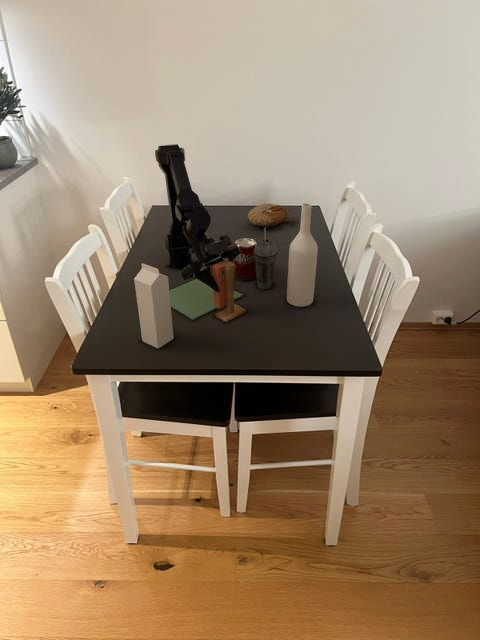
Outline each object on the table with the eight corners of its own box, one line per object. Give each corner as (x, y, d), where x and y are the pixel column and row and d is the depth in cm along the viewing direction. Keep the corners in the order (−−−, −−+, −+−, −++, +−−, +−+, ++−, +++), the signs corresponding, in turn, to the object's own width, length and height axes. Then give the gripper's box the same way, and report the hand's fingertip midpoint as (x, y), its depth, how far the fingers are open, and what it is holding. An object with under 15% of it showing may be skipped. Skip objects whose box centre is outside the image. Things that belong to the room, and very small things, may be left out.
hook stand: (209, 312, 145) (207, 263, 137) (229, 302, 150) (228, 254, 141) (225, 322, 141) (224, 272, 132) (246, 311, 146) (246, 262, 137)
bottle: (295, 309, 147) (302, 211, 130) (281, 297, 153) (286, 202, 137) (318, 303, 150) (327, 206, 134) (303, 291, 156) (310, 198, 140)
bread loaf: (296, 218, 209) (301, 234, 197) (246, 216, 208) (247, 232, 196) (299, 200, 205) (304, 215, 193) (247, 198, 203) (249, 213, 191)
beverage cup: (278, 282, 161) (281, 223, 150) (272, 292, 155) (274, 232, 144) (257, 278, 163) (258, 220, 152) (250, 288, 157) (250, 229, 146)
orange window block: (213, 306, 145) (212, 265, 138) (227, 299, 148) (226, 259, 141) (219, 309, 143) (218, 268, 136) (233, 302, 146) (232, 262, 139)
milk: (157, 331, 137) (150, 258, 126) (174, 338, 134) (167, 264, 122) (141, 341, 133) (132, 267, 121) (158, 349, 130) (149, 273, 118)
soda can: (254, 282, 161) (254, 247, 155) (232, 279, 162) (232, 246, 156) (258, 271, 167) (258, 238, 161) (237, 270, 168) (236, 236, 162)
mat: (155, 297, 153) (155, 296, 153) (205, 276, 165) (205, 275, 164) (192, 320, 142) (192, 318, 142) (243, 295, 154) (243, 294, 153)
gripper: (185, 237, 130) (214, 289, 130) (236, 219, 141) (263, 266, 140) (169, 255, 139) (196, 303, 139) (218, 237, 150) (244, 281, 150)
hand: (226, 288), depth 142 cm, fingers closed on orange window block, 5 cm apart
